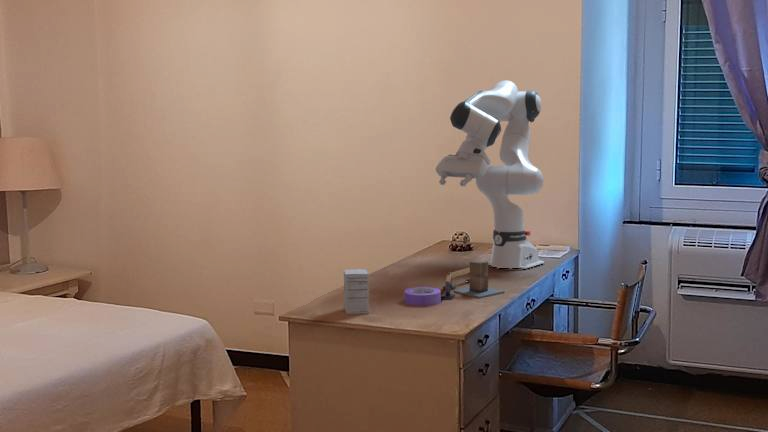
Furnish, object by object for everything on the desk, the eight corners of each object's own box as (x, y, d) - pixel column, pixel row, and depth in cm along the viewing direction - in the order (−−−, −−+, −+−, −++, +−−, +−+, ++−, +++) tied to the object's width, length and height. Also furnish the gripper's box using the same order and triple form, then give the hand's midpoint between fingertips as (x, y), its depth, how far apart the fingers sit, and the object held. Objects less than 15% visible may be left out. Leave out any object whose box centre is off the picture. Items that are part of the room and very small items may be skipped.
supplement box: (344, 308, 284) (343, 269, 282) (367, 308, 284) (367, 268, 283) (345, 314, 276) (344, 273, 275) (369, 313, 277) (368, 273, 275)
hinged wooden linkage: (458, 279, 327) (458, 264, 326) (478, 280, 324) (478, 265, 323) (429, 297, 298) (429, 281, 297) (451, 299, 295) (451, 283, 294)
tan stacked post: (477, 288, 308) (477, 260, 306) (487, 290, 305) (488, 261, 304) (469, 291, 305) (469, 261, 303) (480, 292, 302) (480, 263, 300)
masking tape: (429, 308, 285) (429, 296, 284) (397, 303, 291) (397, 292, 290) (447, 300, 294) (447, 289, 294) (415, 296, 301) (415, 285, 300)
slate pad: (478, 287, 313) (478, 285, 313) (504, 292, 304) (504, 291, 304) (453, 292, 306) (453, 290, 305) (479, 298, 296) (479, 296, 296)
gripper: (442, 148, 335) (425, 177, 329) (487, 150, 321) (470, 180, 315) (450, 160, 338) (433, 188, 333) (494, 162, 324) (478, 191, 319)
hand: (451, 184), depth 324 cm, fingers open, 8 cm apart
